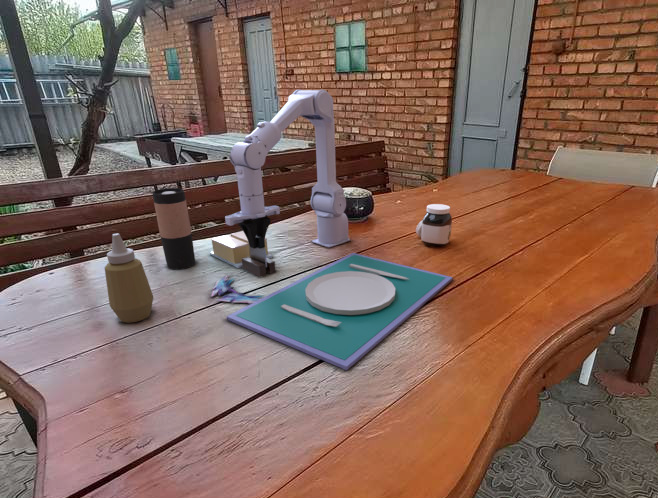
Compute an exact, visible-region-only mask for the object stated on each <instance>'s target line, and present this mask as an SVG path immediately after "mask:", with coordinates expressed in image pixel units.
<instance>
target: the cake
mask: <svg viewBox="0 0 658 498" xmlns="http://www.w3.org/2000/svg"><path fill="white" fill-rule="evenodd" d="M211 244H212V251H209V255H210V256H212V257H214V258H216V259H218V260H220V261H222V262H225V263H226V264H228V265H230V266H233V267H234V268H237V269H243V265H242V258H245V257H249V258H250V251H249V242H248V240H247V237H246V235H245V233H244V232H243V230H241V231H240V230H239V231H237V232H233V233H230V235H229V234H226V235H220V236H217V237H213V238H211ZM264 248H265V249H266V258H268V259H273V257H274V256H273V254H270V253H269V250H268V249H269V248H268V239H267V238H266V237H265V247H264Z"/></svg>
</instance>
